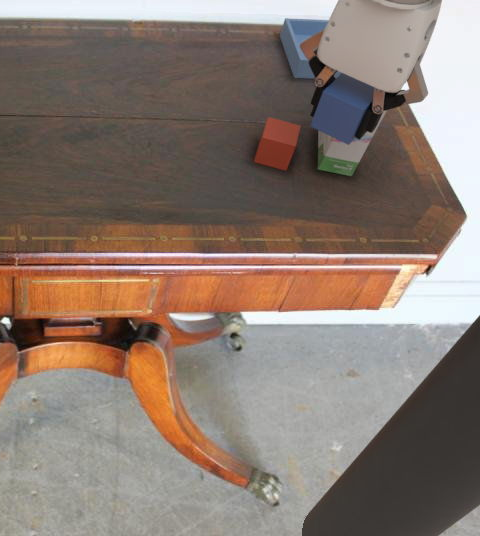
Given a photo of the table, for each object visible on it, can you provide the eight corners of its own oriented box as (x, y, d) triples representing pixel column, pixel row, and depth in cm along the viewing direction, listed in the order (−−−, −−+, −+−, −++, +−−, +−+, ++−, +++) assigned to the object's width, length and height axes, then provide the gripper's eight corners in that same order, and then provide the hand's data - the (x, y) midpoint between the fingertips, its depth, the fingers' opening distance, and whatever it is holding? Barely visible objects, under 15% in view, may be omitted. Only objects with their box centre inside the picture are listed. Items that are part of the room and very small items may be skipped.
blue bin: (345, 38, 118) (353, 20, 115) (364, 80, 111) (372, 62, 108) (279, 36, 117) (285, 18, 115) (293, 78, 110) (300, 59, 108)
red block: (291, 150, 100) (301, 125, 96) (286, 171, 97) (296, 146, 93) (259, 141, 100) (268, 116, 97) (253, 162, 98) (262, 136, 94)
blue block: (367, 124, 85) (382, 89, 81) (348, 145, 82) (363, 110, 78) (329, 106, 87) (342, 71, 83) (309, 126, 84) (322, 91, 80)
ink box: (317, 131, 103) (346, 60, 93) (354, 138, 102) (386, 68, 93) (316, 170, 97) (346, 100, 88) (354, 178, 97) (389, 108, 88)
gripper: (499, -7, 69) (421, 139, 83) (338, -67, 75) (291, 78, 89) (471, 24, 65) (394, 172, 79) (304, -41, 71) (261, 106, 85)
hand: (340, 120), depth 84 cm, fingers closed on blue block, 5 cm apart
